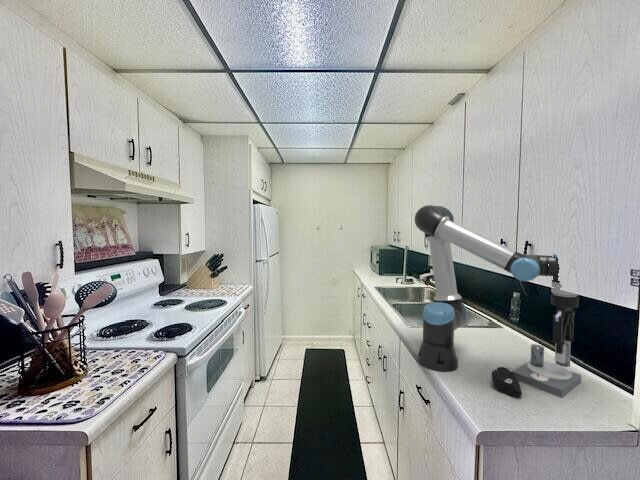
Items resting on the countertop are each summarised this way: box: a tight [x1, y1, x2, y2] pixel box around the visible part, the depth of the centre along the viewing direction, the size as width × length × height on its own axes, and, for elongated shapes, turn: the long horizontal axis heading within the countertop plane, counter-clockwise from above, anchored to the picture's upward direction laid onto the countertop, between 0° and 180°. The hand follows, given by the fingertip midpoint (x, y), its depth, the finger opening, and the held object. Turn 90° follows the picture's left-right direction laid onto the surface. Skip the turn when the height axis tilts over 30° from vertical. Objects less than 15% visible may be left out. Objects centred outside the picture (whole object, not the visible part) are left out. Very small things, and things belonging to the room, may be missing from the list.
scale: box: [511, 360, 582, 399], centre depth 108 cm, size 18×15×4 cm
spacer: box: [529, 343, 545, 367], centre depth 112 cm, size 4×4×7 cm
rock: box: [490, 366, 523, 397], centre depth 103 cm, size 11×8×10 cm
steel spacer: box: [555, 344, 572, 368], centre depth 106 cm, size 4×4×7 cm
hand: (562, 359), depth 106 cm, fingers closed on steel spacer, 4 cm apart
